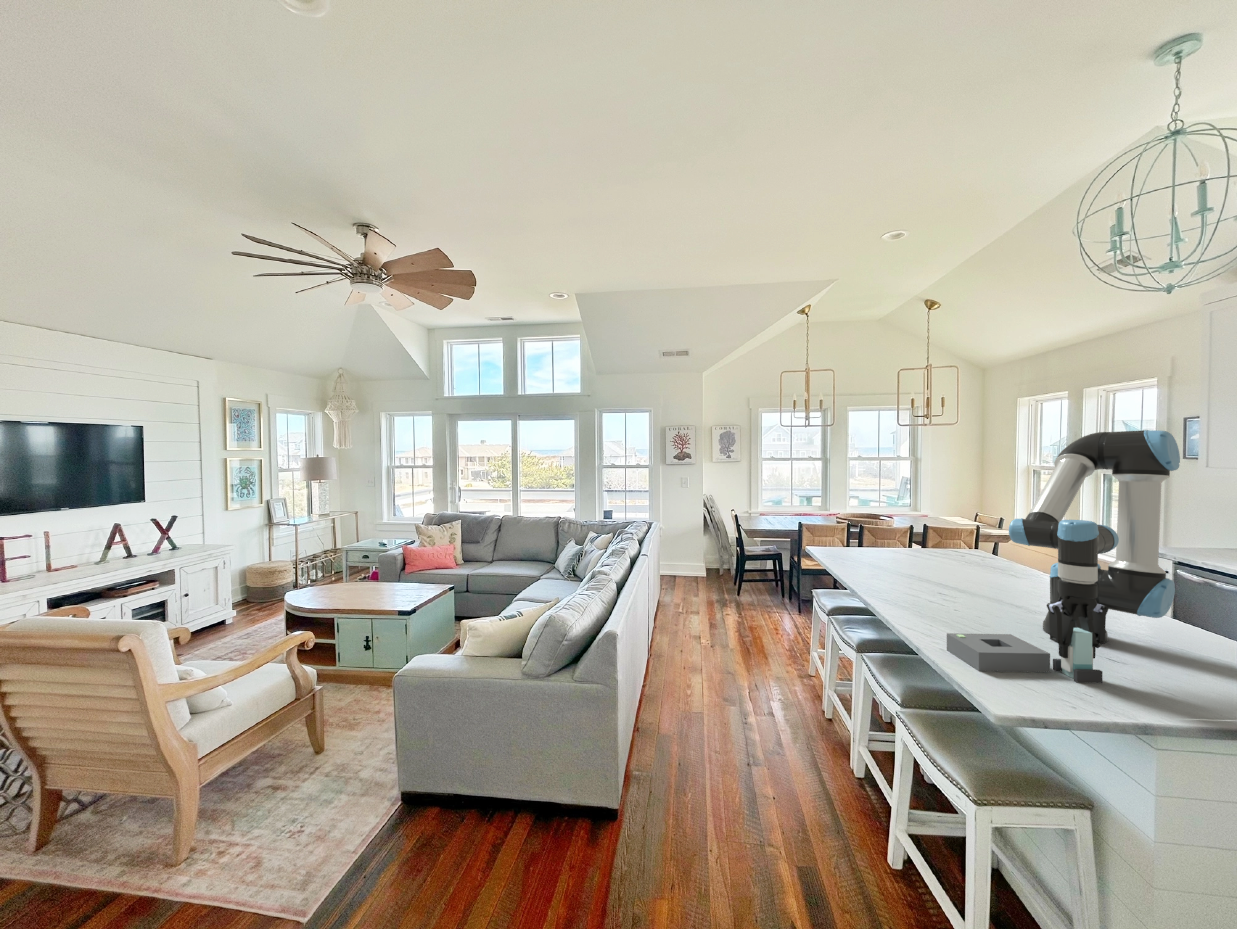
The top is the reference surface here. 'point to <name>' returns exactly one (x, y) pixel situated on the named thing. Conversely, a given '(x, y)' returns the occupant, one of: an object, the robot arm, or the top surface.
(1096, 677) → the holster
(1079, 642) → the plug
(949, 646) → the port block
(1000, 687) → the top surface
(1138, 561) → the robot arm
